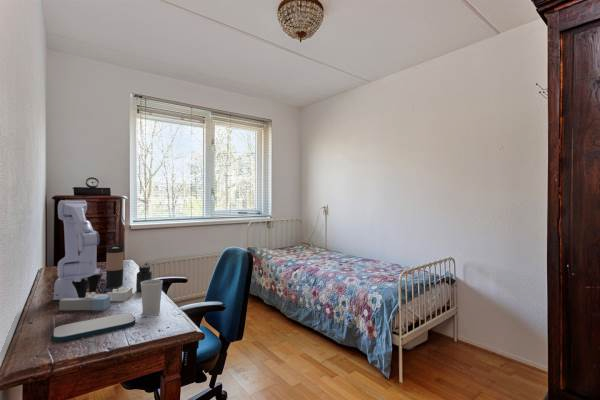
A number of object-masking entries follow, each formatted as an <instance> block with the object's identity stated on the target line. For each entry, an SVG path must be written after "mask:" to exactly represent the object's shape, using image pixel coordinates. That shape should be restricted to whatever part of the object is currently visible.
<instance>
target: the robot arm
mask: <svg viewBox="0 0 600 400" xmlns="http://www.w3.org/2000/svg"><path fill="white" fill-rule="evenodd" d="M87 211H88V203H87V201H86V200H84V199H83V200H63V199H60V200H59V201H58V204H57V215H58V216H57V217H58V219H59V220H61V221H62V222H63V231H64V232H63V233H64V253H65V254H64V257H62V258H61V259H60V260H59V261H58V262H57V268H56V274H57V277H58V278H57V279H56V280H55V282H54V284H53V292H54V293H53V298H52V300H53V301H58V300H62V299H64V298H85V296H86V293H87V289H88V290H89V293H91V292H97V289H98V285H99V282H100V281H101V279H102V277H103V273H101V268H100V267H99V268H97V256H98V255H97V254H98V253H97V251H98V250H97V248H98V246H99V244H100V234H99V232H98V231H96V230H94V227H93V226H92V223H91V221H89V220H88V219H87V217H86V213H87Z"/></svg>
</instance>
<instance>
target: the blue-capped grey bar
mask: <svg viewBox="0 0 600 400" xmlns="http://www.w3.org/2000/svg"><path fill="white" fill-rule="evenodd" d="M58 304H59V308H58V310H59V311H105V310H107V309H108V308H110V307H111V301H110V296H98V297H96V298H64V299H62V300H59V303H58Z"/></svg>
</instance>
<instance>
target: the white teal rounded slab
mask: <svg viewBox="0 0 600 400" xmlns="http://www.w3.org/2000/svg"><path fill="white" fill-rule="evenodd" d="M135 324H136V318H135V316H134V315H133V314H132V313H129V312H128V313H127V312H126V313H119V314H113V315H108V316H104V317H98V318H92V319H87V320H81V321H77V322H71V323H66V324H61V325H59V326H56V327H55V328H53V329H52V330H53V331H52V341H53V342H55V343H60V342H61V343H62V342H67V341H72V340H77V339H81V338H82V339H83V338H87V337H90V336H95V335H96V336H97V335H100V334H105V333H110V332H114V331H119V330H124V329H128V328H131V327H133V326H134V325H135Z"/></svg>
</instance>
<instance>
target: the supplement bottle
mask: <svg viewBox="0 0 600 400" xmlns="http://www.w3.org/2000/svg"><path fill="white" fill-rule="evenodd" d="M138 267H139V269H138V272H137V273H136V280H135V281H136V284H135V290H136V291H135V292H137V293H141V282H143V281H146V280H153V273H152V271H151V266H150V265H140V266H138Z"/></svg>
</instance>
